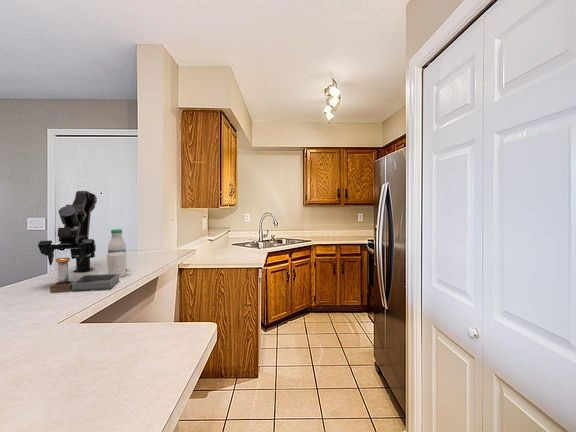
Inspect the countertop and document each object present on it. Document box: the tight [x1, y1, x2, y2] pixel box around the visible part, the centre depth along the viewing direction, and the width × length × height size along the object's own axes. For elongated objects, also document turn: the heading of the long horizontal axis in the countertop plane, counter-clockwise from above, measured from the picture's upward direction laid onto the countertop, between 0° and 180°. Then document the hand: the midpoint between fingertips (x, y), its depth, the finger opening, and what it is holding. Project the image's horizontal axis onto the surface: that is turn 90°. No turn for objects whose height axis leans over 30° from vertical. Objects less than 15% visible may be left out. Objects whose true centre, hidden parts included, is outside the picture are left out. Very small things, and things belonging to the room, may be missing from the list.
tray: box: [71, 274, 120, 293], centre depth 131 cm, size 13×13×3 cm
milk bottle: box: [107, 228, 128, 271], centre depth 155 cm, size 8×8×20 cm
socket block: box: [49, 280, 76, 294], centre depth 126 cm, size 6×6×2 cm
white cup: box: [106, 252, 127, 278], centre depth 147 cm, size 8×8×10 cm
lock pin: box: [55, 257, 71, 285], centre depth 125 cm, size 4×4×12 cm
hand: (64, 264), depth 127 cm, fingers open, 9 cm apart
